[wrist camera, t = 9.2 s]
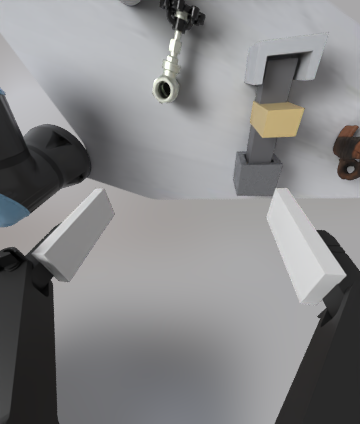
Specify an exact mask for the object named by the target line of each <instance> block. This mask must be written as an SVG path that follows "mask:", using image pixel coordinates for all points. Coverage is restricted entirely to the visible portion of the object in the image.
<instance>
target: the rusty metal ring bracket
mask: <svg viewBox="0 0 360 424" xmlns="http://www.w3.org/2000/svg"><path fill="white" fill-rule="evenodd" d="M358 128H359V127H358V126H356V125H354V126H345V127H344V128H343V129H342V131H341V132H340V134H339V136H338V137H337V139H336V142H335V143H334V147H333V152H334V154H335V155H337V156H338V157H340V158H341V159H339V161H340V162H339V165H338V169H337V173H338V175H339V177H340V178H341V179H347V180H354V179H357V178H359V177H360V162H358V161H356V160H355V159H360V137H353V135H354V133H355V132H356V130H357V129H358ZM349 166H354V168H355V170H354V171H353V172H352V173H348V171H347V168H348V167H349Z"/></svg>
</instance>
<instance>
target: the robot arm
mask: <svg viewBox="0 0 360 424" xmlns="http://www.w3.org/2000/svg"><path fill="white" fill-rule="evenodd" d="M90 170H91V162H90V158H89V155H88V153H87V151H86V150H85V148H84V146H83V145H82V144H81V143H80V141H78V139H77V138H76V137H75V136H73V135H72V134H71V133H70V132H68V131H67V130H65V129H63V128H61V127H58V126H55V125H50V124H44V125H40V126H37V127H34V128H32V129H31V130H30V131H28V133H27V134H26V135H25V136H24V137H23V136H22V134H21V132H20V129H19V127H18V125H17V123H16V120H15V118H14V116H13V114H12V111H11V109H10V107H9V104H8V102H7V100H6V97H5V93H4V91H3V90H2V89H1V87H0V227H8V226H12V225H13V224H15V223H17V222H18V221H20V220H21V219H23V218H24V217H27V216H29V214H30V213H32V212H33V211H34V210H35V209H37V207H39V206H40V205H41V204H43V203H44V202H45V201H46V200H48V199H49V198H50V197H51V196H52V195H54V194H55V193H56V192H57V191H59V190H60V189H62V188H65V187H68V186H72V185H75V184H78V183H80V182H82V181H83V180H84V179H85V178H87V176H88V175H89V173H90ZM114 215H115V213H114V211H113V208H112V206H111V204H110V201H109V199H108V197H107V194H106V192H105V189H104V188H96V189H94V191H93V192H92V193H91V194H90V195H89V196H88V197H87V198H86V199H85V200H84V201H83V202H82V203H81V204H80V205H79V206H78V207H77V208H76V209H75V210H74V211H73V212H72V213H71V214H70V215H69V216H68V217H67V218H66V219H65V220H64V221H63V222H61V223H60V224H58V225H57V226H55V227H54V228H53V229H52V230H51V231H50V232H49V234H47V235H46V236H45V237H44V239H42V240H41V241H40V242H39V243H38V244H37V245H36V246H35V247H34V248H33V249H32V250H31V251H30V252H29V253H28V254H27V255H26V256H24V255H23V254H22V253H21V252H20V251H19V250H18V249H17V248H15V247H9V248H5V249H3V250H1V251H0V424H59V422H58V417H57V393H56V363H55V335H54V334H55V332H54V307H53V306H54V305H53V304H54V303H53V283H52V281H51V279H52V277H53V276H54V277H55V278H56V279H57V280H58V281H64V282H70V281H71V279H72V278H73V276H74V275H75V273H76V272H77V270H78V269H79V267H80V266H81V264H82V263H83V261H84V260H85V258H86V257H87V255H88V254H89V252H90V251H91V249H92V248H93V246H94V245H95V243H96V242H97V240H98V239H99V237H100V236H101V234H102V233H103V231H104V230H105V228H106V226H107V225H108V224H109V222H110V220H111V219H112V217H113V216H114ZM267 220H268V223H269V225H270V228H271V231H272V233H273V236H274V238H275V241H276V243H277V246H278V249H279V251H280V254H281V256H282V258H283V261H284V264H285V266H286V268H287V271H288V274H289V276H290V279H291V281H292V284H293V286H294V289H295V291H296V294H297V297H298V299H299V301H300V304H308V305H318V304H319V303H320V302H321V301H322V300H323V301H324V303H325V305H326V307H327V308H326V309H325V310H324V311H322V312H321V313H320V314H319V315H318V316H317V317H318V318H320V321H319V323H318V325H317V328H316V330H315V332H314V334H313V337H312V339H311V342H310V344H309V346H308V348H307V351H306V353H305V356H304V357H303V360H302V362H301V364H300V367H299V369H298V371H297V374H296V376H295V378H294V380H293V383H292V385H291V387H290V390H289V392H288V394H287V396H286V399H285V401H284V404H283V406H282V408H281V410H280V413H279V415H278V417H277V419H276V422H275V424H360V271H359V269H358V268H357V267H356V265H355V264H354V263H353V262H352V260H351V259H350V258H349V256H348V255H347V254H345V251H344V250H343V248H342V247H340V244H339V243H338V242H337V240H336V239H335V238H334V237H333V236H332V235H330V234H329V233H327V232H326V231H325V230H316V229H315V228H314V227H313V225H312V223H311V222H310V221H309V219H308V218H307V216H306V215H305V213H304V212H303V210H302V209H301V207H300V206H299V204H298V203H297V201H296V200H295V198H294V197H293V195H292V194H291V193H290V191H289V190H288V188H276V189H275V192H274V195H273V198H272V201H271V204H270V208H269V211H268V214H267Z"/></svg>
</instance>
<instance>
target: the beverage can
mask: <svg viewBox="0 0 360 424" xmlns="http://www.w3.org/2000/svg"><path fill="white" fill-rule="evenodd" d="M119 1H121V2H122V3H124V4H126V5H135V4H137V3H139V2H140V1H141V0H119Z"/></svg>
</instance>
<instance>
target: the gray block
mask: <svg viewBox="0 0 360 424" xmlns="http://www.w3.org/2000/svg"><path fill="white" fill-rule="evenodd" d="M246 152H247V151H243V152H237V154H236V162H235V170H234V177H233V181H234V185H235V189H236V194H237V196H273V194H274V191H275V188H276V185H277V182H278V179H279V175H280V172H281V169H282V166H283V164H282V163H281V161H280V160H279V159H278V158H277V156H276V155H275V154H274V153H273V156H272V159H271V162H268V163H247V161H246V159H245V158H246Z"/></svg>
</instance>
